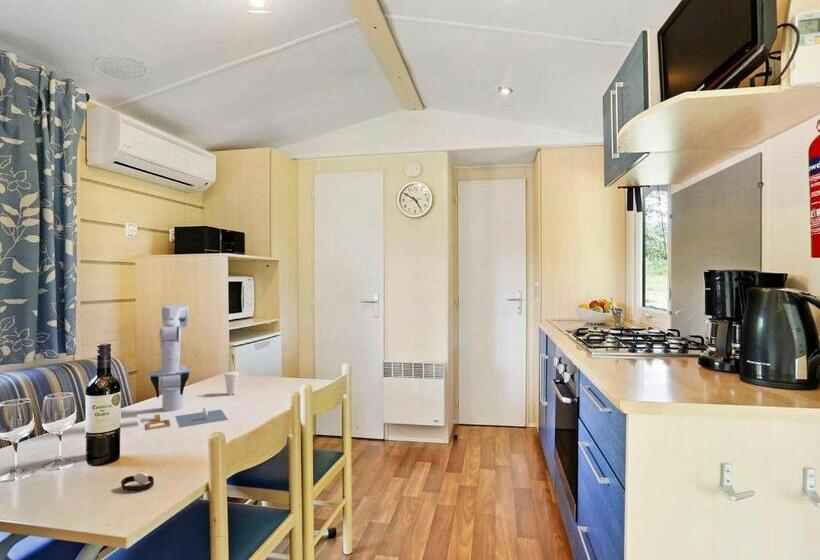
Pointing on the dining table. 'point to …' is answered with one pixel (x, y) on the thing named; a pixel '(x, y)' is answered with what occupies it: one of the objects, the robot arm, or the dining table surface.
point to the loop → (157, 420)
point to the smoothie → (231, 381)
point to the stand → (201, 418)
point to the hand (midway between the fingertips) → (169, 395)
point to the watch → (140, 479)
